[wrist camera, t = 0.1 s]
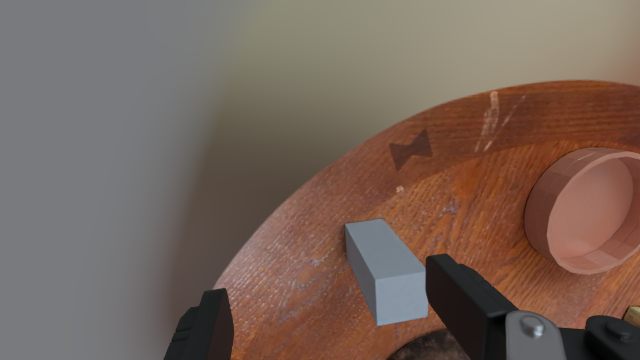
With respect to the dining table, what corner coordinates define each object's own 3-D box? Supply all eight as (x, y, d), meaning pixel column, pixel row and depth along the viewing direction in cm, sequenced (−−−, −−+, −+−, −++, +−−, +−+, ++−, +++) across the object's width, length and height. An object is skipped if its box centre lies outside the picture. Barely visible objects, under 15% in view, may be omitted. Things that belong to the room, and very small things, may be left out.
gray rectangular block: (344, 223, 35) (374, 280, 24) (382, 218, 35) (428, 271, 25) (346, 258, 36) (376, 326, 26) (383, 252, 37) (427, 317, 26)
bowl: (530, 154, 36) (557, 160, 33) (643, 140, 38) (679, 144, 34) (518, 267, 40) (540, 283, 37) (619, 250, 42) (649, 263, 39)
